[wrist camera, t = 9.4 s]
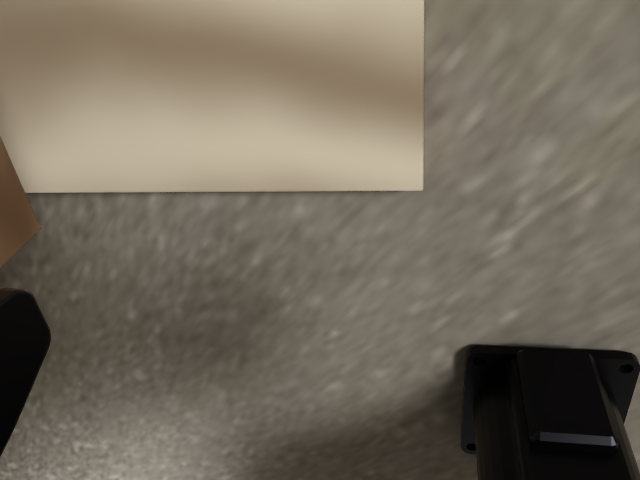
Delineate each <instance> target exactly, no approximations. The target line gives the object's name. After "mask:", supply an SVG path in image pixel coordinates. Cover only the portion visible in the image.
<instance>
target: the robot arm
mask: <svg viewBox="0 0 640 480" xmlns="http://www.w3.org/2000/svg"><path fill="white" fill-rule="evenodd" d="M50 341H51V333H50V329H49V327H48V325H47V323H46V320H45V318H44V316H43V314H42V312H41V310H40V308H39V306H38V304H37V302H36V300H35V298H34V296H33V294H32V293H30V292H29V291H28V290H25V289H12V288H3V289H0V456H1V455H2V453H3V451H4V449H5V447H6V445H7V443H8V441H9V439H10V437H11V435H12V433H13V430H14V428H15V426H16V424H17V421H18V419H19V417H20V414H21V412H22V410H23V407H24V405H25V403H26V400H27V398H28V396H29V393H30V391H31V389H32V386H33V384H34V381H35V379H36V377H37V374H38V372H39V370H40V367H41V365H42V363H43V360H44V358H45V356H46V353H47V351H48V349H49V346H50ZM476 357H481V359H476ZM624 364H628V365H626V366H622V365H624ZM639 372H640V364H639V361H638V359H637V357H636V356H635V355H634V354H632V353H628V352H613V351H590V350H567V349H544V348H521V347H498V346H473V347H471V348H469V349H468V350H467V352H466V360H465V376H464V392H463V408H462V424H461V449H462V450H463V451H464V452H466V453H470V454H476V457H477V472H478V480H640V472H639V469H638V466H637V463H636V460H635V457H634V454H633V451H632V448H631V445H630V442H629V439H628V436H627V433H626V430H625V427H624V422H625V418H626V415H627V412H628V409H629V405H630V402H631V399H632V395H633V392H634V389H635V385H636V382H637V379H638V375H639Z"/></svg>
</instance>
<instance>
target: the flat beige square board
mask: <svg viewBox="0 0 640 480" xmlns="http://www.w3.org/2000/svg"><path fill="white" fill-rule="evenodd" d="M0 136H1V139H2V141H3V143H4V145H5V148H6V150H7V152H8V155H9V157H10V159H11V162H12V164H13V166H14V168H15V171H16V173H17V175H18V178H19V180H20V182H21V184H22V187H23V189H24V191H25V193H76V192H253V191H423V161H424V0H0Z"/></svg>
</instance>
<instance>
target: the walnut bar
mask: <svg viewBox="0 0 640 480" xmlns="http://www.w3.org/2000/svg"><path fill="white" fill-rule="evenodd" d="M40 229H41V228H40V226H39V223H38V221H37V219H36V216H35V214H34V212H33V210H32V207H31V205H30V203H29V200H28V198H27V196H26V194H25V191H24V189H23V187H22V184H21V182H20V180H19V178H18V175H17V173H16V171H15V168H14V166H13V164H12V162H11V159H10V157H9V155H8V152H7V150H6V148H5V145H4V143H3V141H2V139H1V136H0V268H1V267H2V266H3V265H4V264H5V263H6V262H7V261H8V260H9V259H10V258H11V257H12V256H13V255H14V254H15V253H16V252H17V251H18V250H19V249H20V248H21V247H22V246H23V245H24V244H25V243H26V242H27V241H28V240H29V239H30V238H31V237H33V236H34V235H35V234H36V233H37V232H38V231H39V230H40Z"/></svg>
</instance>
